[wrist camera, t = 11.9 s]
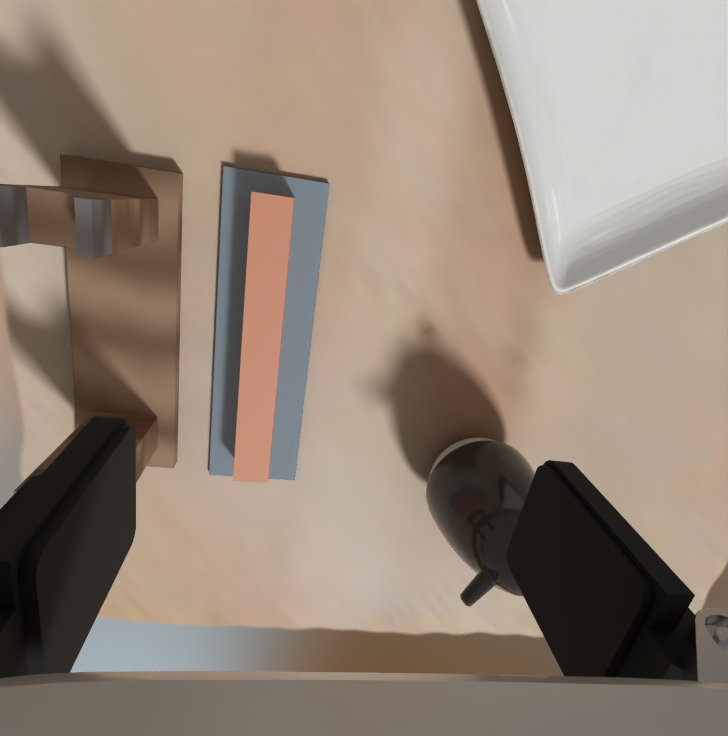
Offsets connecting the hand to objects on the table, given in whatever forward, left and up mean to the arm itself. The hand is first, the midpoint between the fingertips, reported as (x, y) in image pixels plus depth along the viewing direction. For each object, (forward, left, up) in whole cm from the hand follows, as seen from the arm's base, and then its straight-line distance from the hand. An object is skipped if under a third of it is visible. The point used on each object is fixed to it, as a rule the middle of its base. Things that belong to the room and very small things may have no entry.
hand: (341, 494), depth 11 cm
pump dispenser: (+17, +17, -30) cm, 39 cm away
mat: (+6, -4, -30) cm, 31 cm away
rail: (+6, -4, -30) cm, 31 cm away
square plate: (-20, +24, -31) cm, 44 cm away
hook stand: (+6, -15, -30) cm, 34 cm away
